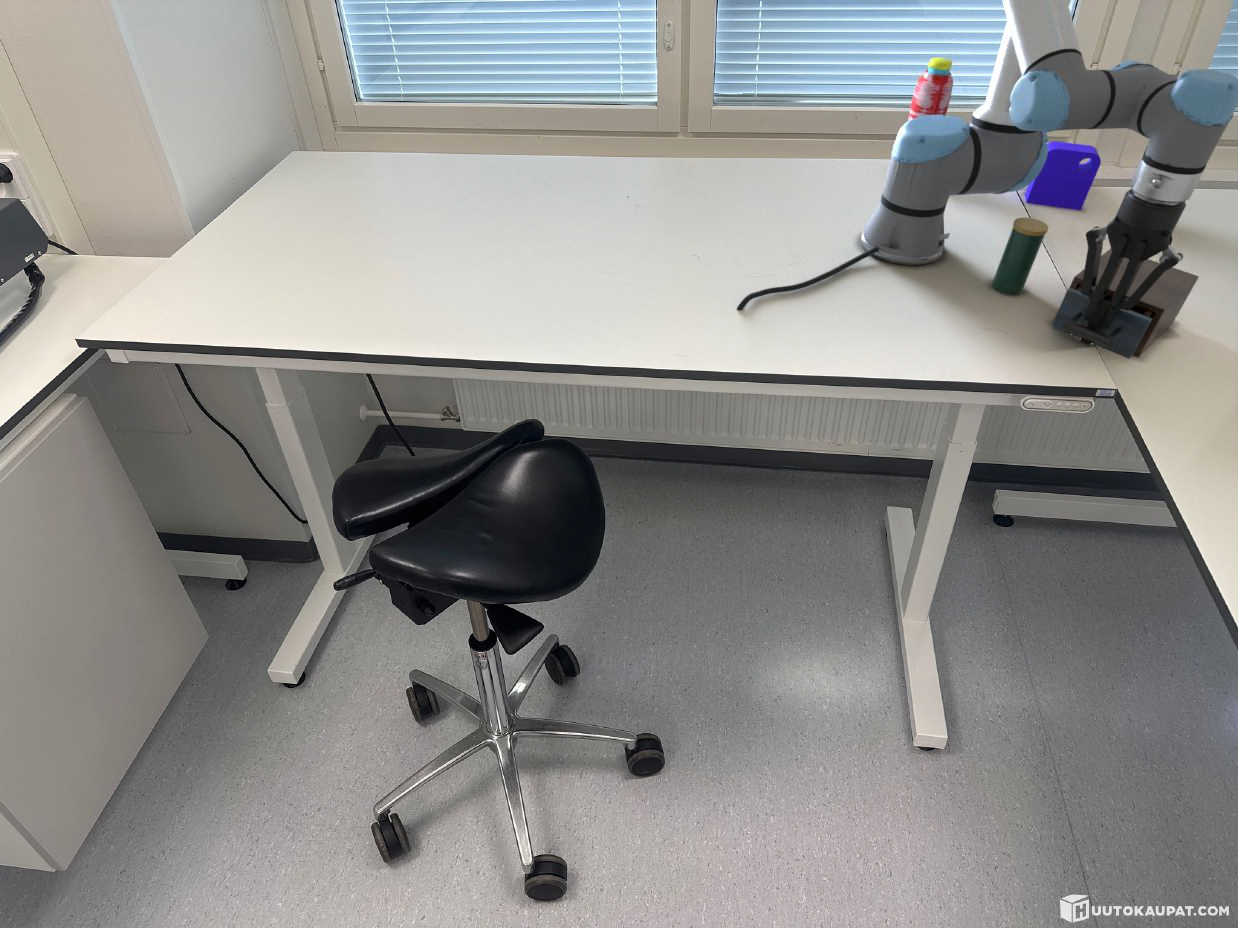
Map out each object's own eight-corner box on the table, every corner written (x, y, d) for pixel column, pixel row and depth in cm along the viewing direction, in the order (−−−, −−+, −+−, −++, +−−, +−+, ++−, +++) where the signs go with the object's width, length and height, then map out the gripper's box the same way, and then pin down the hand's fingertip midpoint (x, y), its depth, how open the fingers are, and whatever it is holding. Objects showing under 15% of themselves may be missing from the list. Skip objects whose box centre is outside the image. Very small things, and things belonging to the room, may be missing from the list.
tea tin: (1001, 296, 141) (1026, 232, 133) (984, 281, 145) (1007, 218, 137) (1029, 294, 142) (1055, 230, 134) (1011, 279, 146) (1036, 216, 138)
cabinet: (1138, 358, 127) (1164, 310, 122) (1053, 323, 135) (1074, 276, 129) (1172, 323, 136) (1199, 276, 130) (1091, 292, 143) (1112, 246, 137)
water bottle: (885, 165, 186) (914, 48, 169) (920, 167, 185) (952, 49, 169) (894, 186, 177) (926, 64, 160) (931, 188, 176) (966, 66, 160)
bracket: (1080, 210, 169) (1104, 154, 162) (1026, 203, 172) (1047, 147, 164) (1070, 178, 182) (1092, 125, 175) (1020, 172, 185) (1039, 119, 177)
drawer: (1115, 373, 122) (1136, 334, 118) (1035, 339, 129) (1052, 301, 124) (1162, 326, 133) (1183, 289, 129) (1086, 297, 140) (1103, 261, 135)
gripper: (1099, 188, 112) (1037, 332, 128) (1199, 218, 105) (1121, 367, 121) (1119, 174, 116) (1056, 316, 132) (1217, 202, 109) (1139, 348, 125)
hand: (1087, 340), depth 126 cm, fingers closed
